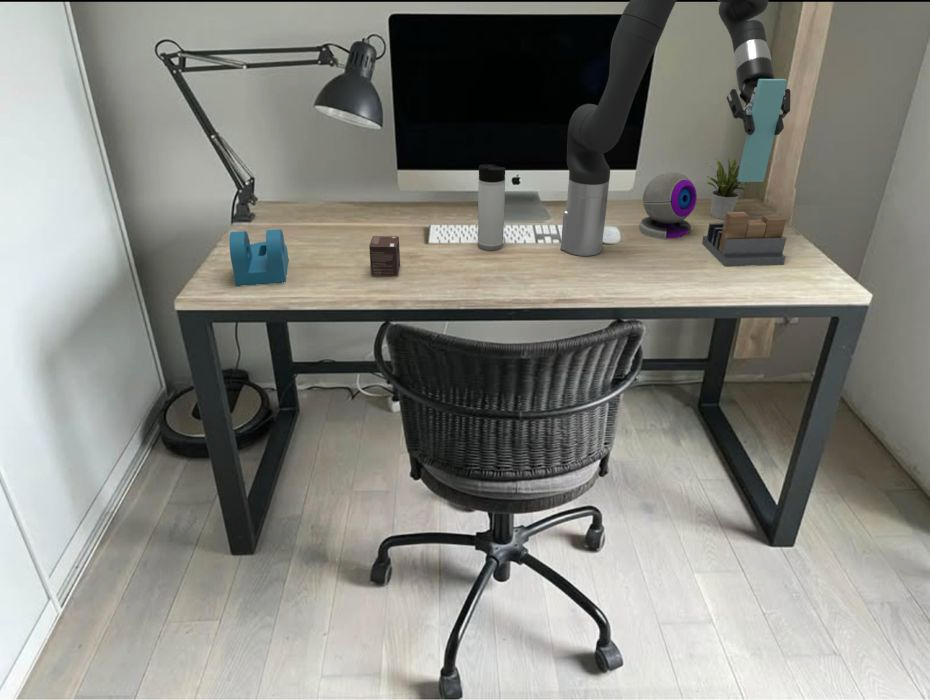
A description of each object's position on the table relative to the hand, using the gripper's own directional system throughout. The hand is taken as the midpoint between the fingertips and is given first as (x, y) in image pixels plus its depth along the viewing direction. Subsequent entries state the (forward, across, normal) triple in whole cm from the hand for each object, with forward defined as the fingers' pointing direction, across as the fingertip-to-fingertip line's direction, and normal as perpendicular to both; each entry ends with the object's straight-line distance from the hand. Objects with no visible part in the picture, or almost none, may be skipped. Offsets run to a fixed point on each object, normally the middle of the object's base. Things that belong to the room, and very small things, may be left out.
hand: (765, 132), depth 151 cm
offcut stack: (+21, 0, +15) cm, 26 cm away
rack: (+21, 0, +19) cm, 28 cm away
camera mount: (+22, -112, +19) cm, 116 cm away
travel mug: (+15, -59, +26) cm, 66 cm away
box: (+24, -84, +16) cm, 89 cm away
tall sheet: (+7, 0, +9) cm, 11 cm away
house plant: (+2, +7, +37) cm, 38 cm away
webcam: (+9, -13, +31) cm, 35 cm away
